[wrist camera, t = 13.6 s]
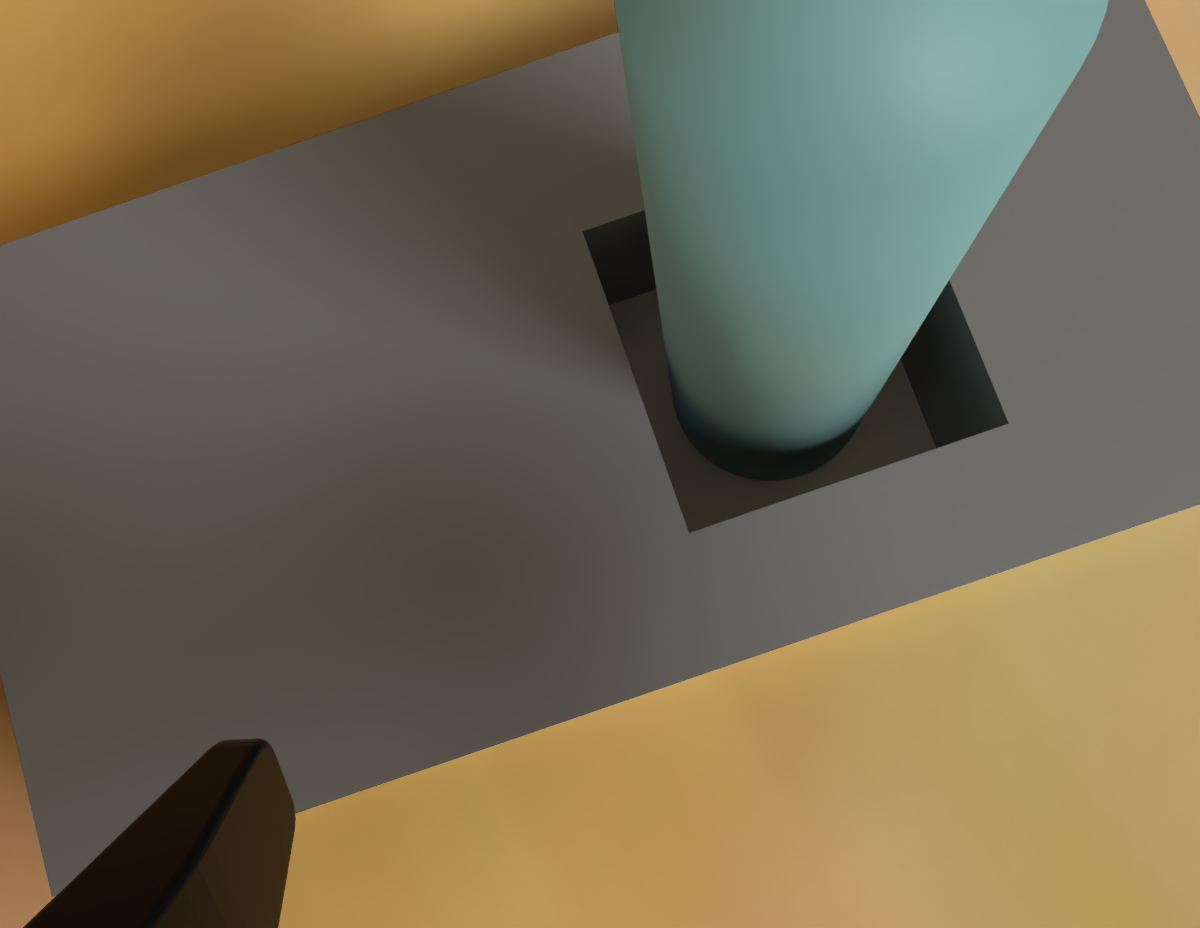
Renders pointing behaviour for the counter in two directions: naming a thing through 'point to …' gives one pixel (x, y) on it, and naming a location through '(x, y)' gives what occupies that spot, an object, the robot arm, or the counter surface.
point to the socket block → (524, 436)
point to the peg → (822, 191)
